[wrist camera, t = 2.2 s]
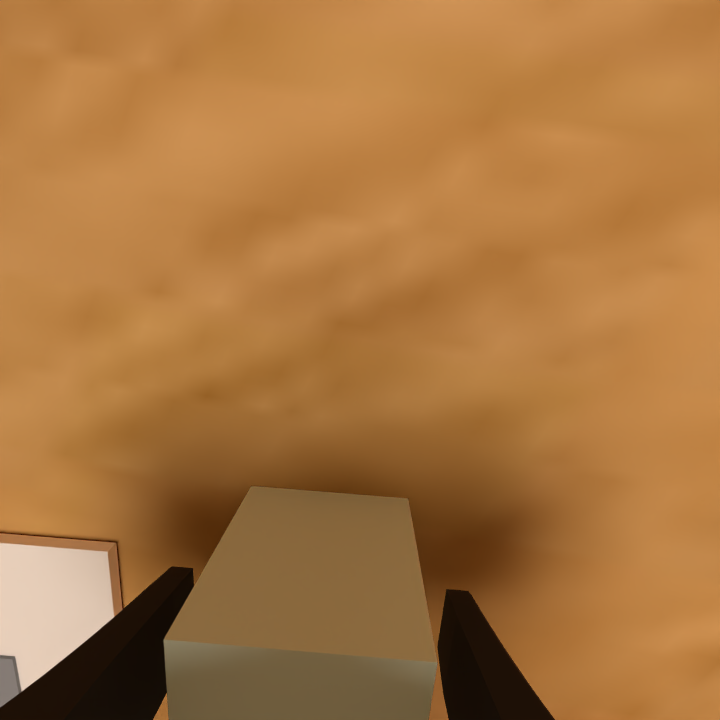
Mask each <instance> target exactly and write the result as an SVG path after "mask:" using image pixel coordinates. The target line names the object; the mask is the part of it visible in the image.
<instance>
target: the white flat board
mask: <svg viewBox="0 0 720 720" xmlns="http://www.w3.org/2000/svg"><path fill="white" fill-rule="evenodd" d="M120 611H122V599H121V588H120V578H119V567H118V556H117V546H116V543H113V542H101V541H89V540H77V539H64V538H52V537H40V536H28V535H16V534H4V533H0V707H1V706H3V705H4V704H6V703H7V702H8V701H10V700H11V699H12V698H14V697H15V696H16V695H18V694H19V693H20V692H22V691H23V690H24V689H26V688H27V687H28V686H30V685H31V684H32V683H34V682H35V681H36V680H38V679H39V678H40V677H41V676H43V675H44V674H45V673H47V672H48V671H49V670H50V669H52V668H53V667H54V666H55V665H57V664H58V663H59V662H60V661H62V660H63V659H64V658H65V657H67V656H68V655H69V654H70V653H72V652H73V651H74V650H75V649H77V648H78V647H79V646H80V645H81V644H83V643H84V642H85V641H86V640H88V639H89V638H90V637H91V636H92V635H93V634H95V633H96V632H97V631H98V630H99V629H101V628H102V627H103V626H104V625H105V624H106V623H108V622H109V621H110V620H111V619H112V618H113V617H115V616H116V615H117V614H118V613H119V612H120Z"/></svg>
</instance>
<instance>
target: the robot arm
mask: <svg viewBox="0 0 720 720" xmlns="http://www.w3.org/2000/svg"><path fill="white" fill-rule="evenodd" d="M193 587H194V580H193V568H184V567H171V568H169V569H168V570H167V571H166V572H165V573H164V574H162V575H161V576H160V577H159V578H158V579H157V580H156V581H154V582H153V583H152V584H151V585H150V586H149V587H148V588H147V589H145V590H144V591H143V592H142V593H141V594H140V595H139V596H137V597H136V598H135V599H134V600H133V601H132V602H131V603H130V604H128V605H127V606H126V607H125V608H124V609H123V610H122V611H120V612H119V613H118V614H117V615H116V616H115V617H113V618H112V619H111V620H110V621H109V622H108V623H106V624H105V625H104V626H103V627H102V628H101V629H99V630H98V631H97V632H96V633H95V634H93V635H92V636H91V637H90V638H89V639H88V640H86V641H85V642H84V643H83V644H81V645H80V646H79V647H78V648H77V649H75V650H74V651H73V652H72V653H70V654H69V655H68V656H67V657H65V658H64V659H63V660H62V661H60V662H59V663H58V664H57V665H55V666H54V667H53V668H52V669H50V670H49V671H48V672H47V673H45V674H44V675H43V676H41V677H40V678H39V679H38V680H36V681H35V682H34V683H32V684H31V685H30V686H28V687H27V688H26V689H24V690H23V691H22V692H20V693H19V694H18V695H16V696H15V697H14V698H12V699H11V700H10V701H8V702H7V703H6V704H4V705H3V706H1V707H0V720H153V718H154V716H155V714H156V713H157V711H158V709H159V707H160V705H161V703H162V701H163V699H164V697H165V695H166V693H167V685H166V669H165V654H164V638H165V636H166V635H167V633H168V631H169V629H170V627H171V626H172V624H173V622H174V620H175V619H176V617H177V615H178V613H179V612H180V610H181V608H182V606H183V605H184V603H185V601H186V599H187V598H188V596H189V594H190V592H191V591H192V589H193ZM437 647H438V655H439V664H440V672H441V680H442V687H443V694H444V699H445V704H446V709H447V713H448V718H449V720H555V719H554V718H553V716H552V715H551V714H550V712H549V711H548V710H547V708H546V707H545V706H544V704H543V703H542V702H541V700H540V699H539V697H538V696H537V695H536V693H535V692H534V690H533V689H532V688H531V686H530V685H529V683H528V682H527V681H526V679H525V678H524V676H523V675H522V673H521V672H520V670H519V669H518V667H517V666H516V664H515V663H514V662H513V660H512V659H511V657H510V656H509V654H508V653H507V651H506V650H505V648H504V647H503V645H502V644H501V642H500V640H499V639H498V637H497V636H496V634H495V633H494V631H493V629H492V628H491V626H490V625H489V623H488V621H487V620H486V618H485V617H484V615H483V613H482V612H481V610H480V608H479V607H478V605H477V604H476V602H475V600H474V599H473V597H472V595H471V594H470V593H469V592H468V591H462V590H450V589H446V595H445V602H444V608H443V614H442V621H441V627H440V634H439V640H438V646H437Z"/></svg>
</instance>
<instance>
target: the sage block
mask: <svg viewBox="0 0 720 720" xmlns="http://www.w3.org/2000/svg"><path fill="white" fill-rule="evenodd" d="M164 654H165V669H166V685H167V700H168V716H169V720H429V714H430V708H431V701H432V695H433V688H434V682H435V676H436V669H437V663H438V662H437V657H436V651H435V645H434V640H433V634H432V629H431V623H430V617H429V612H428V606H427V601H426V595H425V590H424V584H423V578H422V573H421V567H420V562H419V556H418V550H417V545H416V539H415V534H414V528H413V522H412V517H411V511H410V506H409V500H408V498H397V497H384V496H372V495H359V494H347V493H334V492H322V491H310V490H297V489H285V488H272V487H260V486H251V487H250V489H249V491H248V492H247V494H246V496H245V498H244V499H243V501H242V503H241V505H240V506H239V508H238V510H237V512H236V513H235V515H234V517H233V519H232V520H231V522H230V524H229V526H228V527H227V529H226V531H225V533H224V534H223V536H222V538H221V540H220V542H219V543H218V545H217V547H216V549H215V550H214V552H213V554H212V556H211V557H210V559H209V561H208V563H207V564H206V566H205V568H204V570H203V571H202V573H201V575H200V577H199V578H198V580H197V582H196V584H195V585H194V587H193V589H192V591H191V592H190V594H189V596H188V598H187V599H186V601H185V603H184V605H183V606H182V608H181V610H180V612H179V613H178V615H177V617H176V619H175V620H174V622H173V624H172V626H171V627H170V629H169V631H168V633H167V635H166V636H165V638H164Z"/></svg>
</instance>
